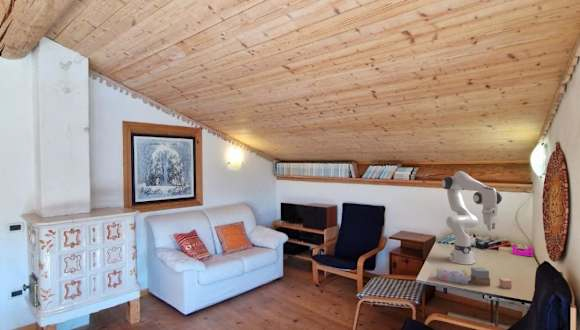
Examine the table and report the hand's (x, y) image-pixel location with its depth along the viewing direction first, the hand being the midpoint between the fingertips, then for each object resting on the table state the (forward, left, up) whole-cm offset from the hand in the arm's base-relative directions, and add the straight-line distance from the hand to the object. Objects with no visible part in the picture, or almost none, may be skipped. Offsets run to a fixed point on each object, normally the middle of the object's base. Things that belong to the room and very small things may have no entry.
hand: (491, 229), depth 234 cm
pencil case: (+2, -28, -36) cm, 46 cm away
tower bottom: (+3, -11, -36) cm, 38 cm away
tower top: (+4, -11, -31) cm, 33 cm away
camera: (-92, +38, -36) cm, 106 cm away
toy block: (-71, +62, -36) cm, 101 cm away
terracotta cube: (+10, +2, -36) cm, 38 cm away
